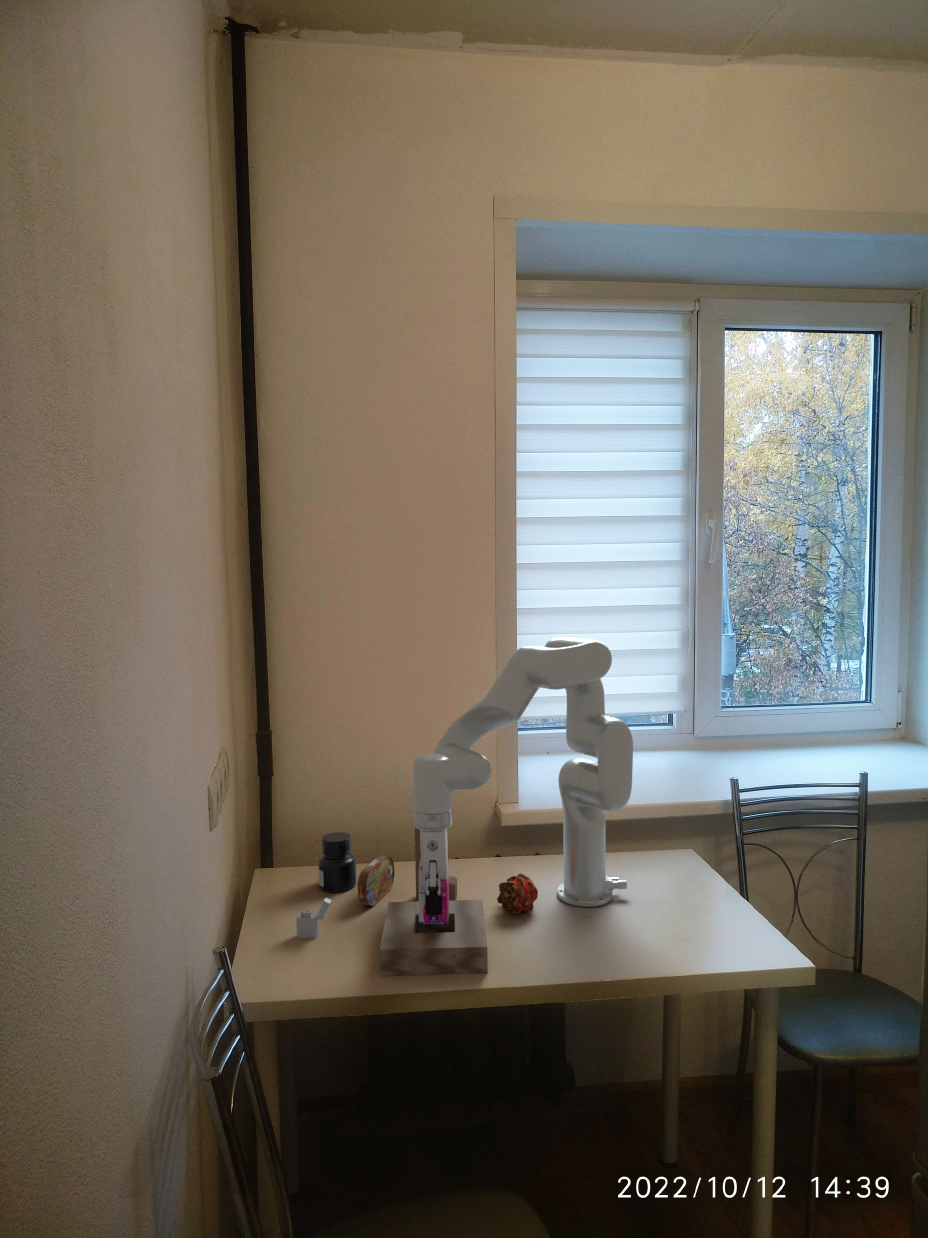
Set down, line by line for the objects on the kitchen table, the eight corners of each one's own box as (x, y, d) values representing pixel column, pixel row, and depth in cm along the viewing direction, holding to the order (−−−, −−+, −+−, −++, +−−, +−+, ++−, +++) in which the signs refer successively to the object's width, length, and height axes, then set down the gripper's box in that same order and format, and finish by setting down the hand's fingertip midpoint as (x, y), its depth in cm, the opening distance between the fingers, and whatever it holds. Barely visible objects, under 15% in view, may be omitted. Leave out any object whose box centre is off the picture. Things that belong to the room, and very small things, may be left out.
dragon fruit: (508, 930, 158) (519, 913, 170) (541, 909, 157) (549, 894, 168) (486, 895, 160) (498, 881, 172) (518, 874, 159) (527, 861, 170)
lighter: (296, 938, 153) (295, 900, 153) (299, 934, 155) (298, 896, 154) (330, 938, 153) (329, 900, 152) (332, 934, 154) (331, 897, 154)
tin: (368, 912, 164) (367, 875, 164) (355, 910, 165) (354, 873, 165) (396, 885, 179) (395, 851, 178) (384, 884, 180) (383, 849, 179)
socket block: (482, 922, 159) (482, 900, 158) (487, 973, 139) (487, 947, 138) (388, 925, 158) (388, 902, 158) (380, 976, 138) (379, 949, 138)
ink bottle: (329, 876, 185) (328, 828, 184) (362, 879, 182) (361, 831, 182) (311, 892, 175) (310, 842, 175) (346, 896, 173) (344, 845, 172)
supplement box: (418, 925, 145) (417, 868, 144) (421, 912, 151) (420, 856, 150) (448, 925, 145) (447, 868, 144) (449, 912, 151) (448, 856, 150)
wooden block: (457, 895, 172) (456, 819, 171) (455, 904, 168) (454, 826, 167) (418, 894, 173) (417, 818, 172) (415, 903, 168) (414, 825, 167)
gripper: (451, 832, 138) (453, 927, 139) (451, 804, 155) (452, 888, 157) (411, 833, 138) (413, 927, 139) (415, 804, 155) (417, 889, 156)
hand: (434, 906), depth 148 cm, fingers closed on supplement box, 5 cm apart
